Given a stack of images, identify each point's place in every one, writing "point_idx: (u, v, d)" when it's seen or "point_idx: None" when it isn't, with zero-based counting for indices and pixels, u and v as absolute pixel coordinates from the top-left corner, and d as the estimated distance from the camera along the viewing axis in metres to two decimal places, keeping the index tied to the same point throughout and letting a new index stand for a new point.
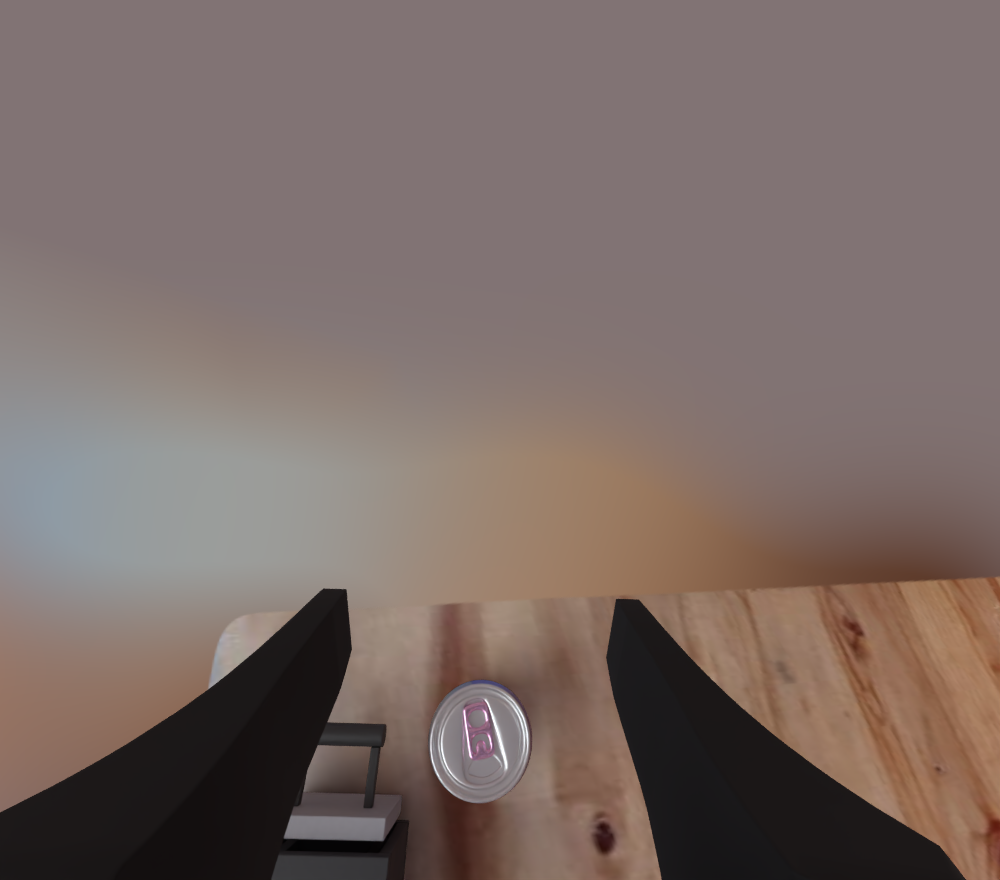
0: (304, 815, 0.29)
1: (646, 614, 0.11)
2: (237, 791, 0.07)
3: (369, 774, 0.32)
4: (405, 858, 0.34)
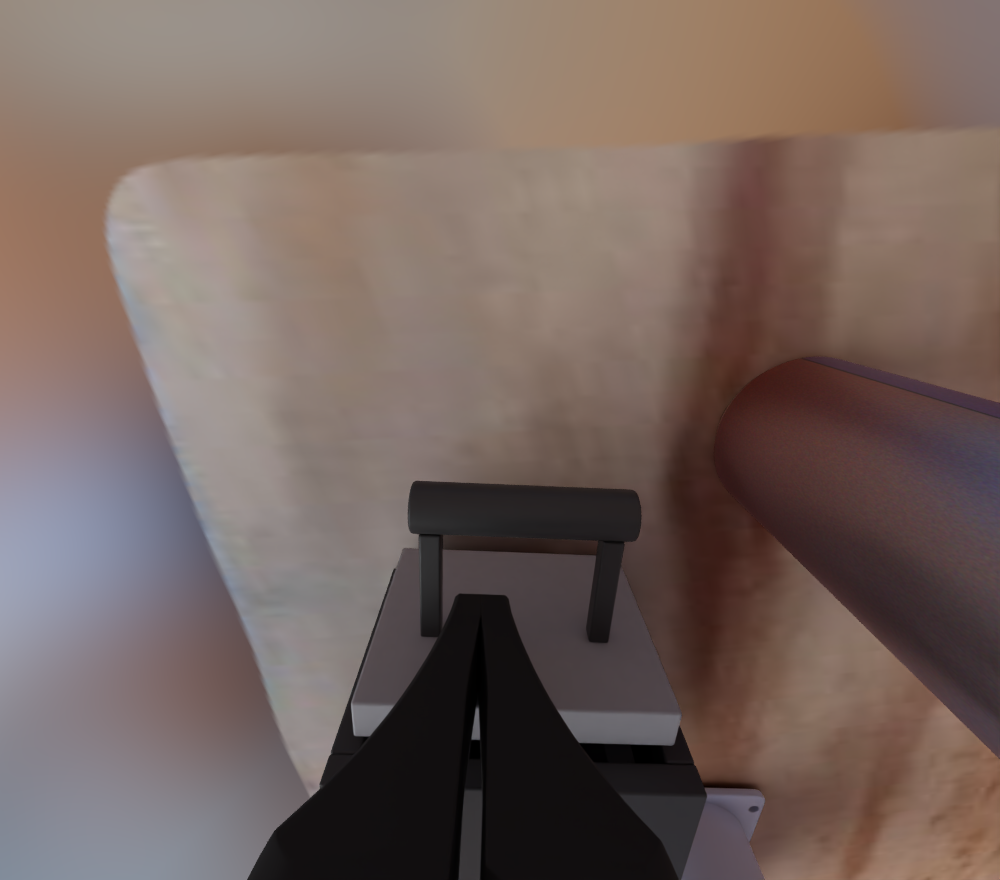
0: (476, 704, 0.12)
1: (502, 609, 0.11)
2: (459, 797, 0.07)
3: (601, 591, 0.13)
4: None
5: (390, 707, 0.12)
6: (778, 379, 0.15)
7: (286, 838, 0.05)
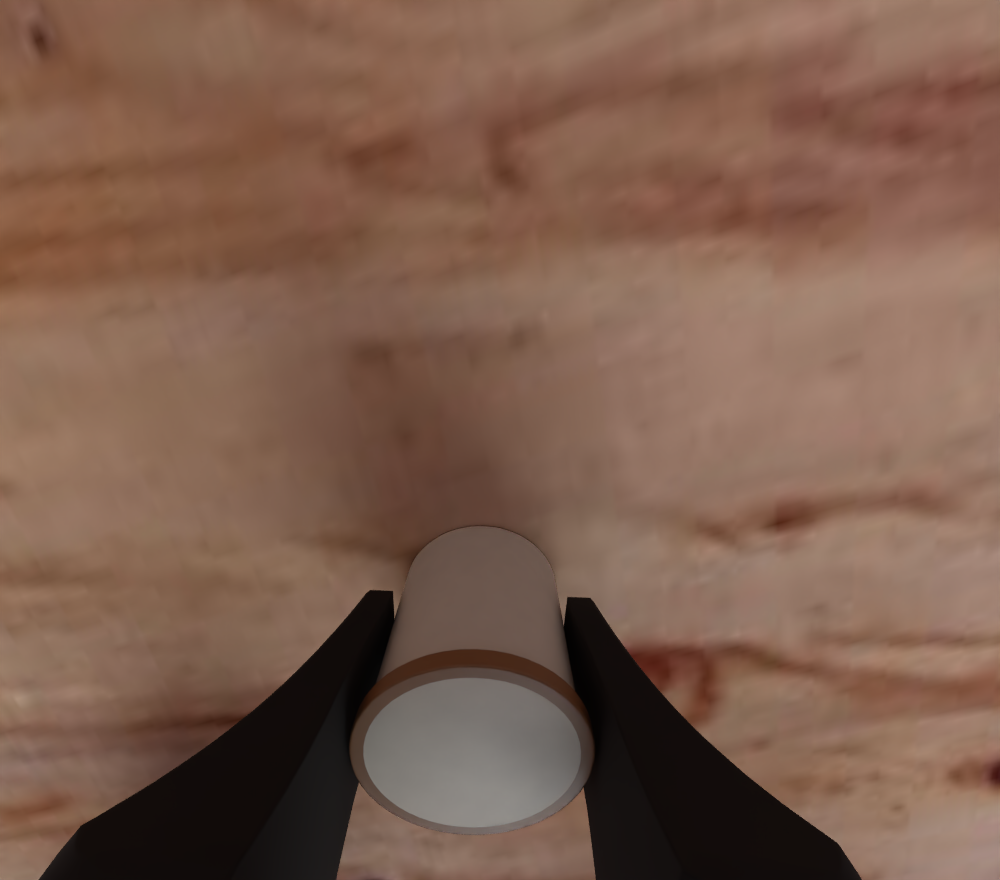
0: None
1: (594, 612, 0.11)
2: (313, 793, 0.07)
3: None
4: None
5: None
6: None
7: (87, 833, 0.05)
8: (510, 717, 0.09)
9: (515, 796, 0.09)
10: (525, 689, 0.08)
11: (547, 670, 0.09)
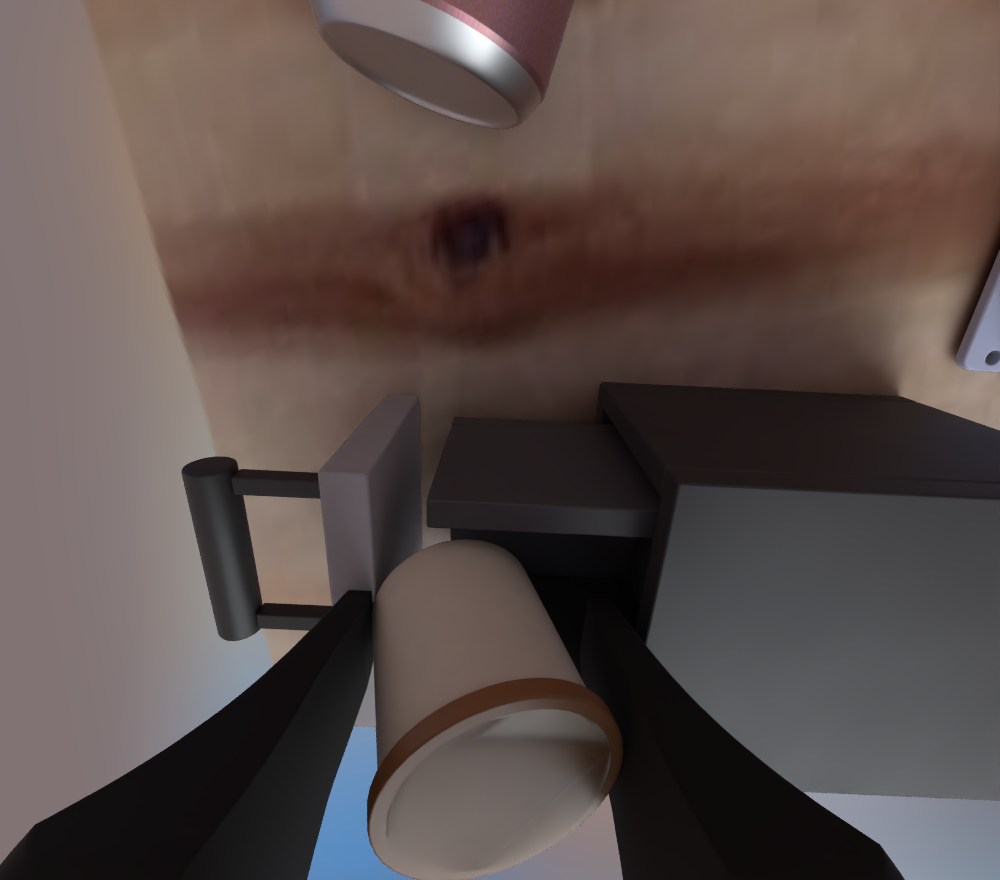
0: None
1: (615, 613, 0.11)
2: (279, 792, 0.07)
3: (287, 493, 0.13)
4: (659, 385, 0.17)
5: None
6: None
7: (40, 832, 0.05)
8: (546, 743, 0.08)
9: (547, 818, 0.09)
10: (561, 711, 0.08)
11: (577, 685, 0.08)
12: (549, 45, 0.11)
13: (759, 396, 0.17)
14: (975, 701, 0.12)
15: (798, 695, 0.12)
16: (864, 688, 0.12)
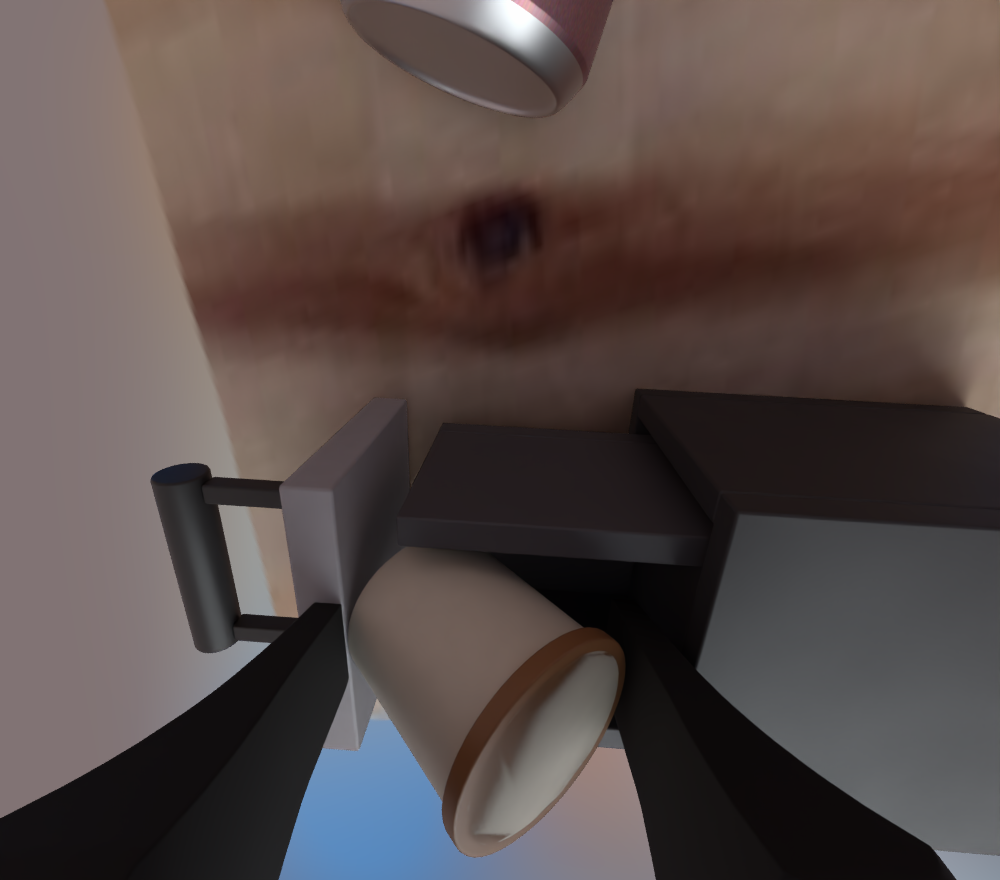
0: None
1: (641, 614, 0.11)
2: (245, 791, 0.07)
3: (259, 503, 0.13)
4: (699, 392, 0.16)
5: None
6: None
7: None
8: (581, 685, 0.09)
9: (576, 753, 0.10)
10: (593, 653, 0.09)
11: (595, 629, 0.10)
12: (595, 22, 0.10)
13: (810, 406, 0.15)
14: None
15: (860, 743, 0.11)
16: (937, 738, 0.10)
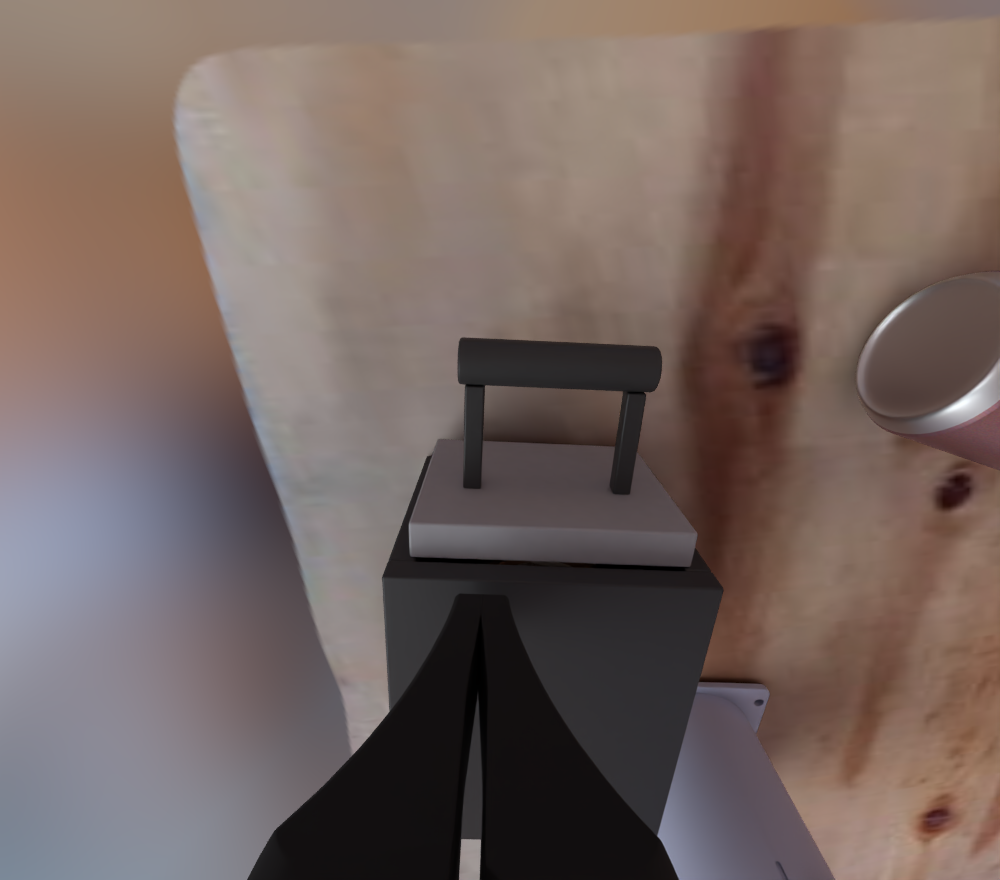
0: (518, 525, 0.13)
1: (502, 609, 0.11)
2: (459, 797, 0.07)
3: (624, 442, 0.15)
4: None
5: (443, 526, 0.13)
6: None
7: (287, 837, 0.05)
8: None
9: None
10: None
11: None
12: (930, 441, 0.16)
13: None
14: None
15: None
16: None
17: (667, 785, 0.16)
